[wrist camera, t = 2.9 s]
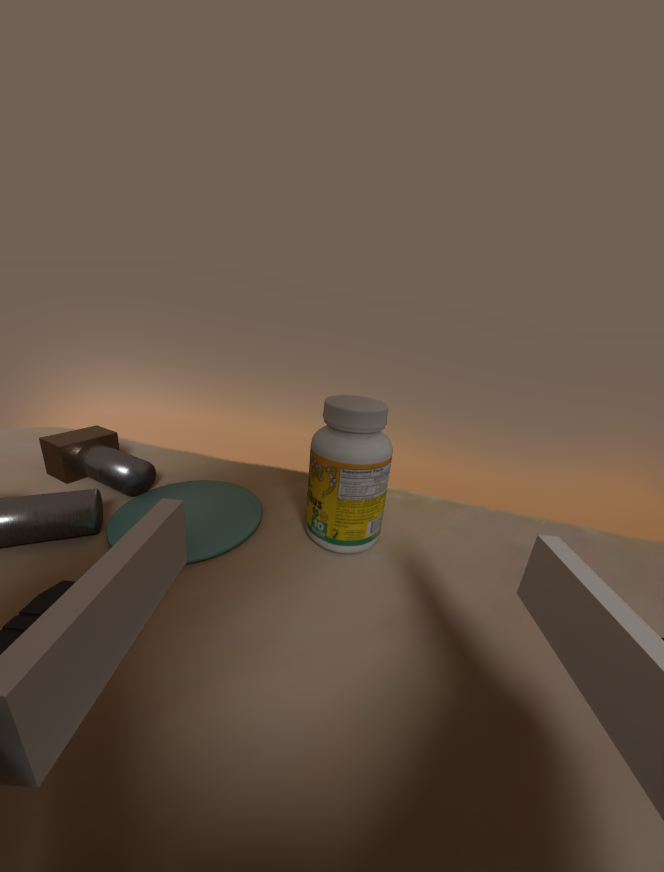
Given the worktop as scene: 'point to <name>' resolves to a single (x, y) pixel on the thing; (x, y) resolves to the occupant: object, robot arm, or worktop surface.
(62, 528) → the shaft left
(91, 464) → the shaft right
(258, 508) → the disc
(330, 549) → the supplement bottle
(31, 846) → the worktop surface
